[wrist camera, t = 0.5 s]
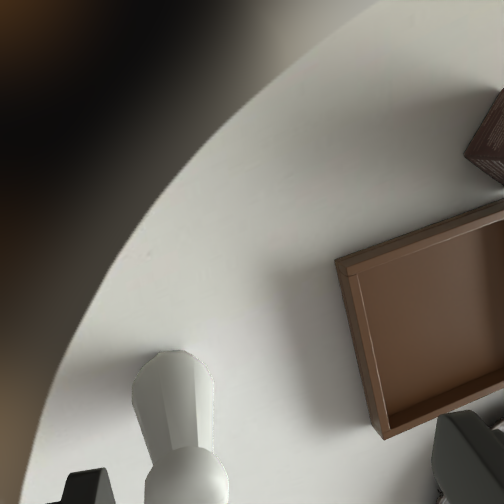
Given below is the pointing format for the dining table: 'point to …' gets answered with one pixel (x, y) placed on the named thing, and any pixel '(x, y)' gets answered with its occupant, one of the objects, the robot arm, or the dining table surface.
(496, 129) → the box
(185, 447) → the salt shaker
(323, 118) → the dining table surface
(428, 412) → the tray
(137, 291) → the dining table surface
